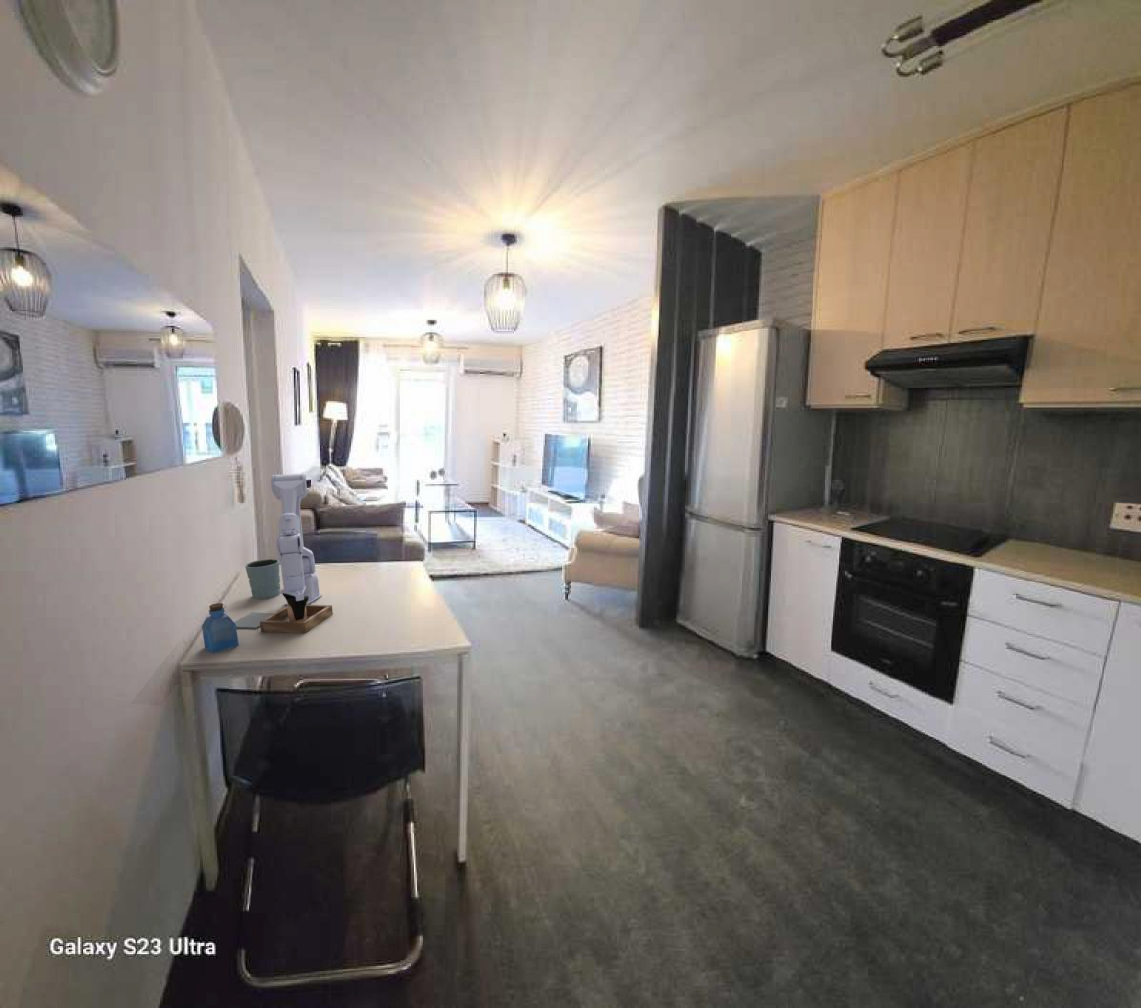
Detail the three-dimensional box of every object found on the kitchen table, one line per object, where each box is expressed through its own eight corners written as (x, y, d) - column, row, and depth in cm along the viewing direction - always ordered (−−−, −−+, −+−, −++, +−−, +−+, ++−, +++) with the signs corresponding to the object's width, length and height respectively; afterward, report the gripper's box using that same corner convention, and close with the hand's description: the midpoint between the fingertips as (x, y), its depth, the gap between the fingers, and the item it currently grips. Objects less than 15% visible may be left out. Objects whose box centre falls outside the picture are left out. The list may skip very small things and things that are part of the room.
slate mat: (252, 613, 160) (252, 612, 160) (281, 614, 159) (281, 613, 159) (225, 628, 149) (225, 626, 149) (256, 629, 148) (256, 627, 148)
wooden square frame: (291, 613, 160) (290, 604, 160) (332, 614, 159) (331, 605, 158) (260, 631, 147) (259, 621, 146) (305, 632, 145) (304, 623, 145)
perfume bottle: (230, 639, 142) (225, 599, 139) (238, 645, 138) (233, 604, 136) (205, 647, 137) (198, 606, 135) (212, 653, 133) (206, 611, 131)
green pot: (288, 590, 181) (285, 559, 179) (269, 600, 172) (265, 567, 169) (262, 590, 182) (259, 558, 180) (242, 600, 173) (238, 566, 170)
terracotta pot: (295, 619, 155) (293, 600, 154) (310, 619, 155) (308, 601, 154) (285, 625, 151) (283, 606, 150) (300, 626, 150) (298, 607, 149)
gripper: (273, 571, 153) (278, 612, 155) (282, 582, 142) (287, 627, 144) (298, 566, 158) (303, 607, 160) (309, 577, 147) (314, 621, 149)
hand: (297, 616), depth 152 cm, fingers closed on terracotta pot, 5 cm apart
